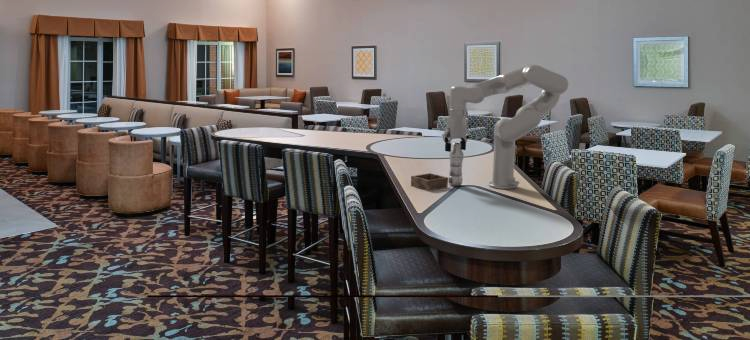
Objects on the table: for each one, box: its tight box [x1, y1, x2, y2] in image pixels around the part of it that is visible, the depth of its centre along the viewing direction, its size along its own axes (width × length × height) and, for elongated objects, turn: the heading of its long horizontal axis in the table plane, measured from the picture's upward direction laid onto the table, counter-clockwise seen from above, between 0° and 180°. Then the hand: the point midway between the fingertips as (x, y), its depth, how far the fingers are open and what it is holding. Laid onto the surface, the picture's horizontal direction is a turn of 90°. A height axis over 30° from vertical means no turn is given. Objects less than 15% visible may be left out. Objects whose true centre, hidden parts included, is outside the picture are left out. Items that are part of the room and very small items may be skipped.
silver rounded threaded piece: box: [448, 142, 465, 187], centre depth 266 cm, size 6×7×20 cm
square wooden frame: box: [410, 172, 449, 192], centre depth 266 cm, size 12×12×4 cm
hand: (455, 150), depth 265 cm, fingers open, 9 cm apart
